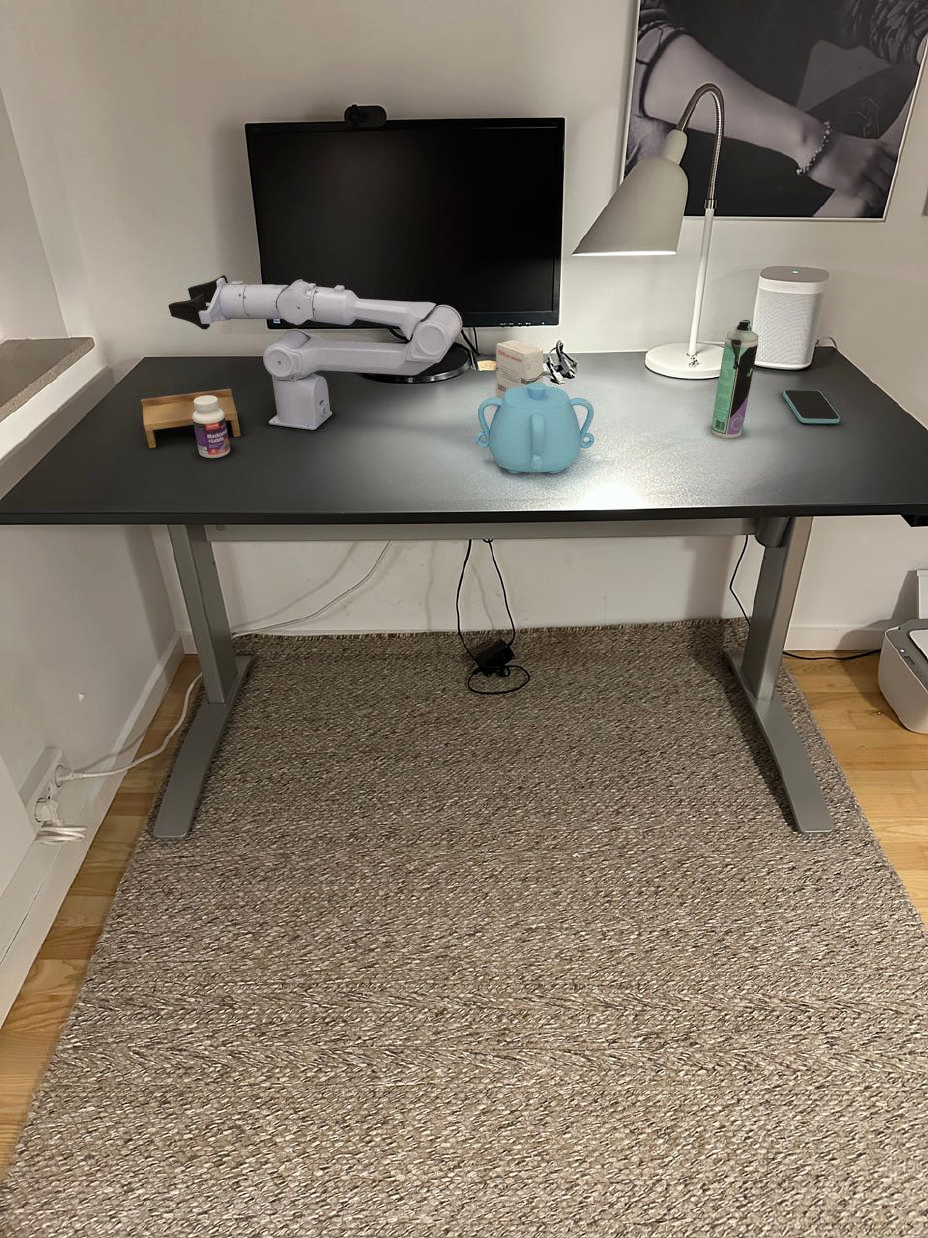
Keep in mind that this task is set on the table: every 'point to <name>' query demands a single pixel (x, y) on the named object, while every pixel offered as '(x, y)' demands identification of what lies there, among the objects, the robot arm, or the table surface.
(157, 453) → the table surface
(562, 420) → the decorative pot
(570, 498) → the table surface
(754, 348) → the spray can
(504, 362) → the ink box
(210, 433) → the pill bottle
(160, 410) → the desk shelf
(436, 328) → the robot arm
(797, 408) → the smartphone
